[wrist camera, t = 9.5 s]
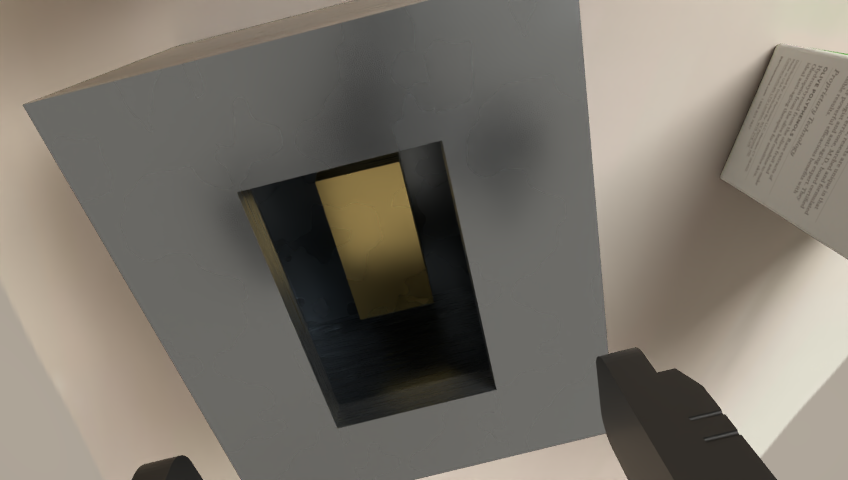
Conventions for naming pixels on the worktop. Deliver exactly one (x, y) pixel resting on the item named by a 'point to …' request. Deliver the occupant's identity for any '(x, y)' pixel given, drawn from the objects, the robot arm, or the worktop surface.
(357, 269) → the wooden block
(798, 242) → the worktop surface
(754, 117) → the skincare box
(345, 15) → the box
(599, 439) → the worktop surface
